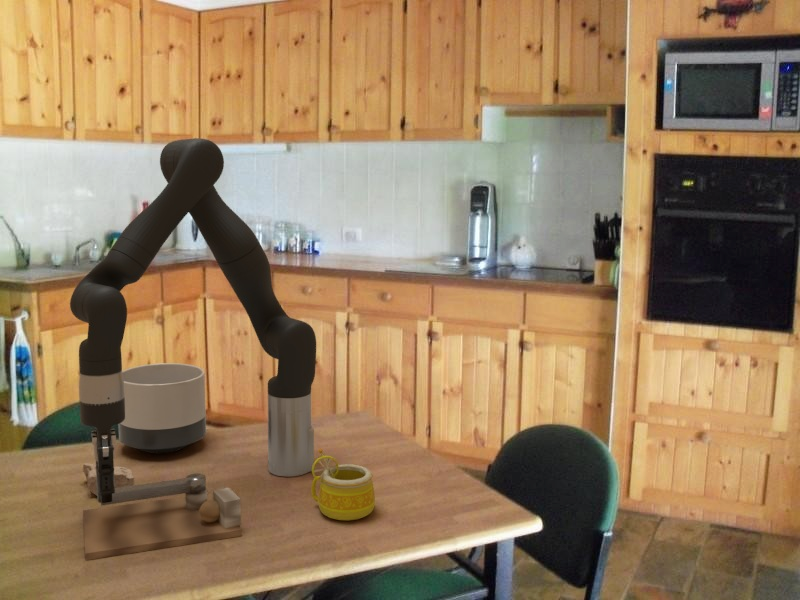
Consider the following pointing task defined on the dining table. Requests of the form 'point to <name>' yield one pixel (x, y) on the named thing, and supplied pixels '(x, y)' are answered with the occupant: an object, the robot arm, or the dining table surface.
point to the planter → (163, 407)
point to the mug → (344, 490)
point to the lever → (151, 489)
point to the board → (161, 523)
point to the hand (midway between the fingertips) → (106, 488)
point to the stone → (121, 477)
